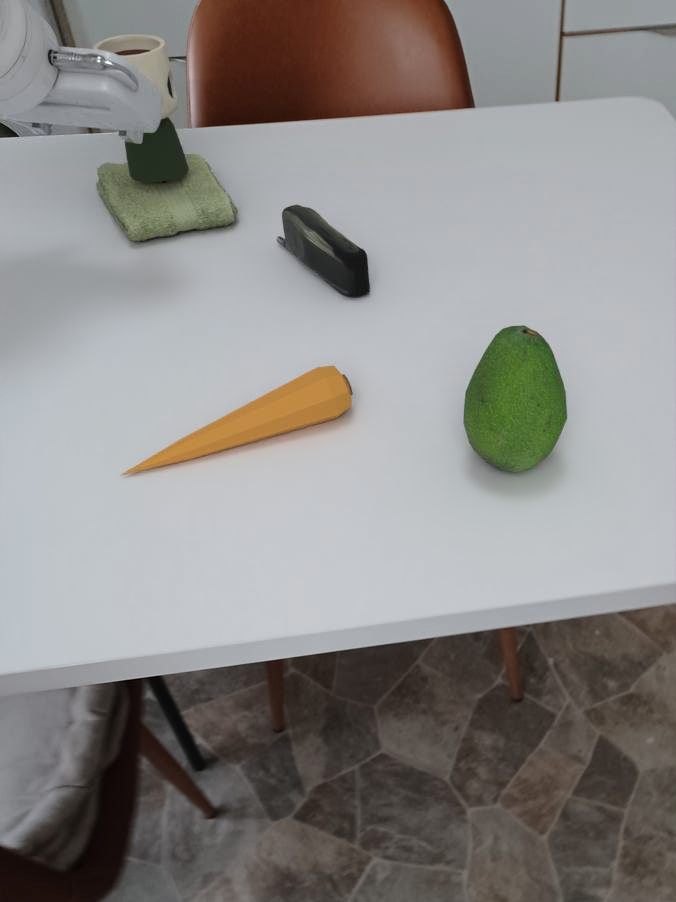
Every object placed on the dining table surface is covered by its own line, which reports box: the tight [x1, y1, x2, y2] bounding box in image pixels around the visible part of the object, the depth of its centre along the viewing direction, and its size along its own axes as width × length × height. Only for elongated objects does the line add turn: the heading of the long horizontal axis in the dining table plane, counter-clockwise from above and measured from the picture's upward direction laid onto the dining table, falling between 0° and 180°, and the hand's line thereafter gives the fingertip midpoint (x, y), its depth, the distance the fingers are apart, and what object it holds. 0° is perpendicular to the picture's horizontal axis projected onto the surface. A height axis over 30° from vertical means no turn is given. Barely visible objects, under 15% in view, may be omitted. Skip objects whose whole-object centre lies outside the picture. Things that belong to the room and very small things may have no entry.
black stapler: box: [276, 204, 371, 298], centre depth 97 cm, size 5×3×15 cm
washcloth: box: [95, 153, 239, 242], centre depth 107 cm, size 13×18×3 cm
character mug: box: [92, 33, 189, 183], centre depth 101 cm, size 11×7×13 cm, turn 30°
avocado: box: [462, 324, 568, 473], centre depth 73 cm, size 8×8×12 cm
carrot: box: [120, 365, 354, 476], centre depth 78 cm, size 20×4×4 cm, turn 119°
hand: (90, 131), depth 92 cm, fingers open, 8 cm apart
